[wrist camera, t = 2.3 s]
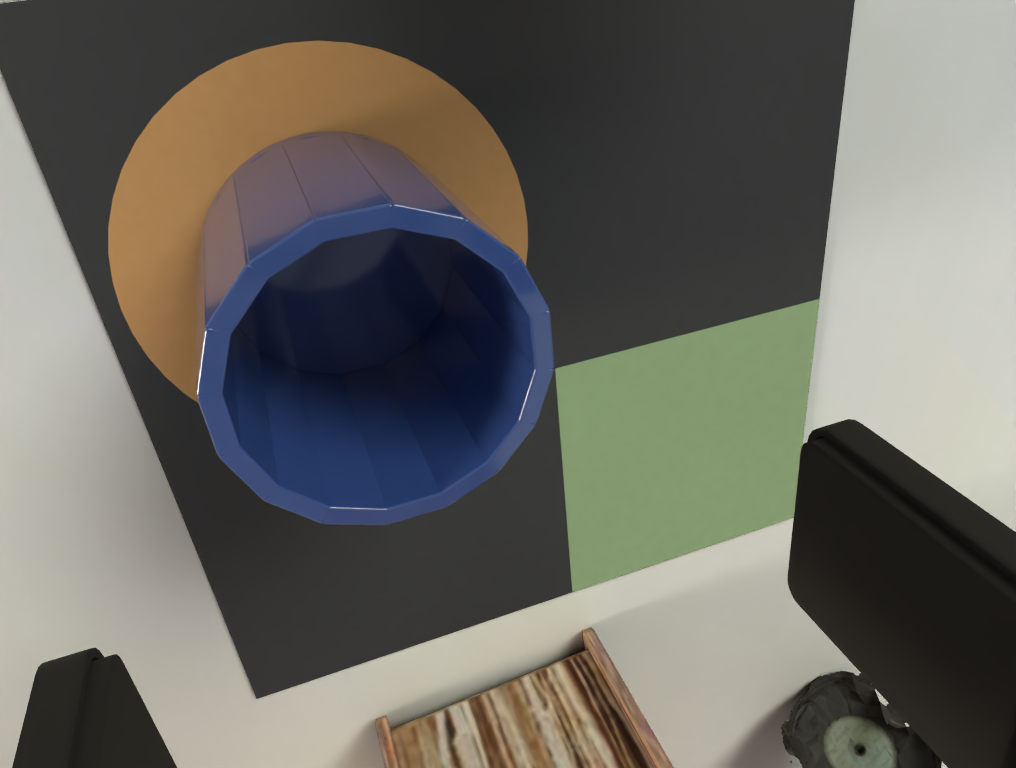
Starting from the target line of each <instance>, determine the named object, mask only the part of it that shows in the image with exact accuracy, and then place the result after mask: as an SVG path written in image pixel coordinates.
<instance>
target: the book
mask: <svg viewBox="0 0 1016 768" xmlns="http://www.w3.org/2000/svg"><path fill="white" fill-rule="evenodd" d="M582 633H583V639H584V645H585V651H582V652H580V653H577V654H575V655H572V656H570V657H568V658H565V659H563V660H560V661H558V662H555V663H553V664H550V665H548V666H545V667H543V668H541V669H538V670H536V671H533V672H531V673H528V674H526V675H523V676H521V677H519V678H516V679H514V680H511V681H509V682H506V683H504V684H501V685H499V686H496V687H494V688H492V689H489V690H487V691H484V692H482V693H479V694H477V695H474V696H472V697H469V698H467V699H465V700H462V701H460V702H457V703H455V704H452V705H450V706H447V707H445V708H443V709H440V710H438V711H435V712H433V713H430V714H428V715H425V716H423V717H420V718H418V719H416V720H413V721H411V722H408V723H406V724H403V725H401V726H398V727H396V728H393V729H391V727H390V724H389V722H388V719H387V716H383V717H381V718H378V719H376V721H375V725H376V730H377V734H378V739H379V743H380V747H381V752H382V756H383V760H384V765H385V768H674V767H673V766H672V764H671V762H670V761H669V759H668V757H667V755H666V754H665V752H664V750H663V748H662V747H661V745H660V743H659V742H658V740H657V738H656V736H655V735H654V733H653V731H652V730H651V728H650V726H649V724H648V723H647V721H646V719H645V717H644V716H643V714H642V712H641V711H640V709H639V707H638V705H637V704H636V702H635V700H634V699H633V697H632V695H631V693H630V692H629V690H628V688H627V686H626V685H625V683H624V681H623V680H622V678H621V676H620V674H619V673H618V671H617V669H616V668H615V666H614V664H613V662H612V661H611V659H610V657H609V655H608V654H607V652H606V650H605V649H604V647H603V645H602V643H601V642H600V640H599V638H598V637H597V635H596V633H595V631H594V630H593V629H592V628H588V629H586V630H583V631H582Z"/></svg>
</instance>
